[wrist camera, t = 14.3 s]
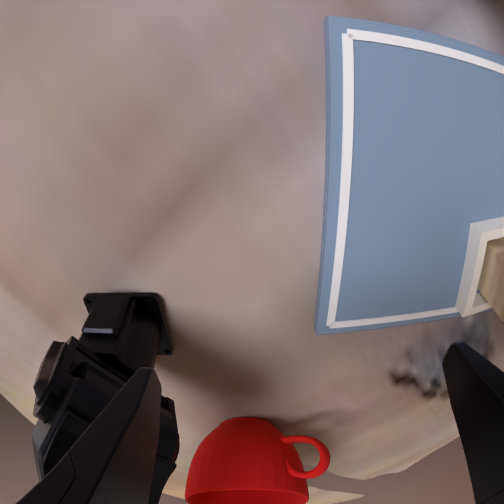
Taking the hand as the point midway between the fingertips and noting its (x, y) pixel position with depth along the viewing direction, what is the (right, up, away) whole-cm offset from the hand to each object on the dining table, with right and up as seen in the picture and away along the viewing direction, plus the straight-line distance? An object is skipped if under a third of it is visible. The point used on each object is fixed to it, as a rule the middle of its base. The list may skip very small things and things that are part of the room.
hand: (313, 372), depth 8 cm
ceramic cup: (-1, -16, +25) cm, 30 cm away
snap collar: (+19, +3, +13) cm, 23 cm away
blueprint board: (+14, +7, +11) cm, 19 cm away
